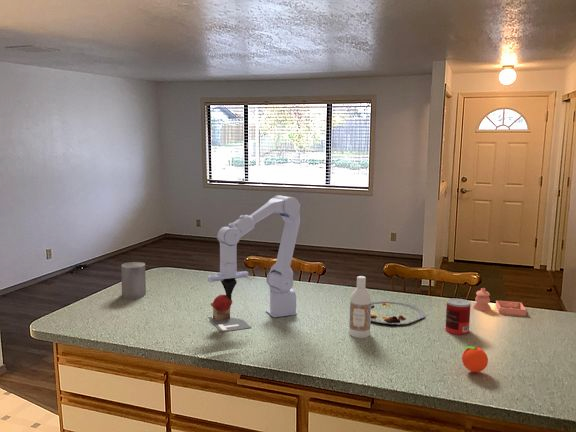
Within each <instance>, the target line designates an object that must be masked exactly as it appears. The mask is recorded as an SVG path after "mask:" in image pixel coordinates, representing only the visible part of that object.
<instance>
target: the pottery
mask: <svg viewBox="0 0 576 432" xmlns="http://www.w3.org/2000/svg"><path fill="white" fill-rule="evenodd" d="M475 294H476V296H475V300H474V301H475V303H474V304H473V305H472V308H473V310H476V311H480V312H489V311H492V307H491V305H490V301H491V299H490V296H491V295H490V292H489V291H487V290H486V288H485V287H481V288H480V290H477V291H476V292H475ZM495 307H496V309H497V311H498V313H499V315H508V316H521V317H526V316H527V309H526V307H525V306H524V305H523V302H519V301H508V300H495Z"/></svg>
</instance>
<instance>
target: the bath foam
mask: <svg viewBox="0 0 576 432" xmlns="http://www.w3.org/2000/svg"><path fill="white" fill-rule="evenodd" d="M366 282H367V278H366V276H363V275H359V276H356V288H355V289H354V290H353V292H352V293H351V296H350V299H349V327H348V328H349V331H348V332H349V335H350V336H351V337H353V338H357V339H365V338H369V336H370V335H371V311H372V309H371V306H372V305H371V303H372V298H371V294H370V293H369V291H368V289H367V288H366Z"/></svg>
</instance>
